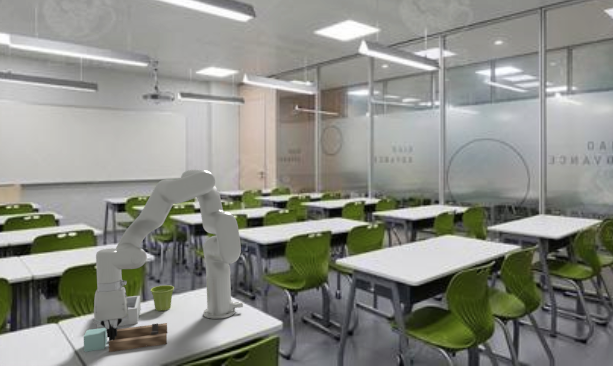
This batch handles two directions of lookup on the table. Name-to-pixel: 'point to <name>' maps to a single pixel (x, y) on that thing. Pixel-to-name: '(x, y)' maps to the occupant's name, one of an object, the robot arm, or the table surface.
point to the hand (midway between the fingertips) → (112, 338)
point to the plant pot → (162, 297)
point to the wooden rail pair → (139, 337)
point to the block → (95, 339)
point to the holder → (129, 312)
